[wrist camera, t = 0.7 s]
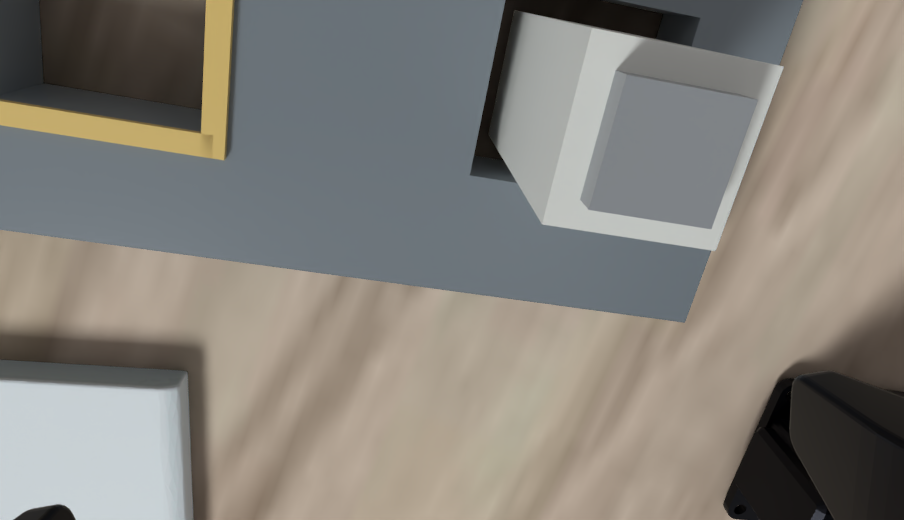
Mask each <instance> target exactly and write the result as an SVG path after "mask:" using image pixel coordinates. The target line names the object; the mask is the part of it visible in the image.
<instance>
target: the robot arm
mask: <svg viewBox="0 0 904 520" xmlns="http://www.w3.org/2000/svg"><path fill="white" fill-rule="evenodd" d="M790 391H791V393H790V394H788V392H790ZM787 394H788V395H787ZM723 505H724V508H725V510H726V511H727V513H728V515H729V516H730V517H731V518H734V519H741V520H904V392H897V391H889V390H883V389H880V388H878V387H875V386H872V385H869V384H867V383H864V382H861V381H859V380H856V379H853V378H850V377H848V376H845V375H842V374H840V373H837V372H834V371H820V372H815V373H809V374H803V375H799V376H798V377H796V378H795V379H793V378H789V379H785V380H782V381H781V382H779V383H778V384H777V385H776V387H775V388H774V391H773V393H772V395H771V397H770V400H769V402H768V404H767V406H766V409H765V411H764V413H763V415H762V417H761V420H760V422H759V424H758V426H757V429H756V431H755V433H754V435H753V438H752V440H751V442H750V444H749V447H748V449H747V451H746V453H745V455H744V458H743V460H742V462H741V464H740V467H739V469H738V471H737V473H736V476H735V478H734V480H733V482H732V485H731V487H730V489H729V491H728V493H727V496H726V498H725V500H724V504H723ZM738 505H739V506H738ZM736 506H737V507H736ZM13 520H76V519H75V517H74V515H73V513H72V512H71V510H70V509H69V508H68V507H66V506H65V505H61V504H56V505H50V506H44V507H38V508H33V509H30V510H27V511H25V512H23V513H22V514H20V515H19V516H18V517H16V518H15V519H13Z"/></svg>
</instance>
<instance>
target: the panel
mask: <svg viewBox="0 0 904 520" xmlns="http://www.w3.org/2000/svg"><path fill="white" fill-rule="evenodd" d="M600 1H605V2H610V3H615V4H620V5H624V6H629V7H634V8H639V9H643V10H648V11H653V12H658V13H663V16H662V20H661V23H660V27H659V30H658V34H657V37H656V39H658V40H663V41H667V42H672V43H677V44H681V45H686V46H691V47H695V48H700V49H705V50H709V51H714V52H719V53H723V54H728V55H733V56H737V57H742V58H747V59H751V60H756V61H761V62H765V63H770V64H775V65H780V62H781V59H782V57H783V54H784V51H785V48H786V46H787V43H788V40H789V37H790V35H791V32H792V29H793V27H794V24H795V21H796V18H797V16H798V13H799V10H800V8H801V5H802V2H803V0H600ZM504 5H505V0H206V14H205V40H204V67H203V93H202V110H200V109H194V108H188V107H182V106H176V105H171V104H165V103H159V102H153V101H147V100H141V99H135V98H129V97H123V96H117V95H111V94H105V93H99V92H93V91H87V90H81V89H75V88H69V87H63V86H57V85H51V84H45V83H44V82H43V64H42V45H41V27H40V8H39V0H0V230H7V231H14V232H22V233H29V234H37V235H44V236H51V237H59V238H66V239H73V240H81V241H88V242H95V243H103V244H110V245H118V246H125V247H132V248H140V249H147V250H154V251H162V252H169V253H176V254H184V255H191V256H199V257H206V258H213V259H221V260H228V261H235V262H243V263H250V264H257V265H265V266H272V267H280V268H287V269H294V270H302V271H309V272H316V273H324V274H331V275H338V276H346V277H353V278H361V279H368V280H375V281H383V282H390V283H397V284H405V285H412V286H420V287H427V288H434V289H442V290H449V291H456V292H464V293H471V294H478V295H486V296H493V297H501V298H508V299H515V300H523V301H530V302H537V303H545V304H552V305H559V306H567V307H574V308H582V309H589V310H596V311H604V312H611V313H618V314H626V315H633V316H640V317H648V318H655V319H663V320H670V321H677V322H685V321H686V318H687V315H688V312H689V310H690V307H691V304H692V302H693V299H694V296H695V293H696V291H697V288H698V285H699V282H700V280H701V277H702V274H703V272H704V269H705V266H706V263H707V261H708V258H709V255H710V253H711V250H705V249H698V248H692V247H685V246H679V245H672V244H666V243H659V242H653V241H647V240H640V239H634V238H627V237H621V236H614V235H608V234H601V233H595V232H588V231H582V230H575V229H569V228H562V227H556V226H549V225H543V224H541V222H540V220H539V219H538V217H537V215H536V214H535V212H534V210H533V209H532V207H531V205H530V203H529V202H528V200H527V198H526V197H525V195H524V193H523V192H522V190H521V188H520V187H519V185H518V183H517V182H516V180H515V178H514V177H513V175H512V173H511V172H510V170H509V168H508V167H507V165H506V163H505V162H504V160H499V159H493V158H487V157H481V156H475V155H474V152H475V148H476V143H477V138H478V133H479V128H480V123H481V118H482V113H483V108H484V103H485V98H486V93H487V88H488V84H489V79H490V74H491V69H492V64H493V59H494V54H495V49H496V44H497V39H498V34H499V29H500V24H501V20H502V15H503V10H504Z"/></svg>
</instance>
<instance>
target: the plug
mask: <svg viewBox="0 0 904 520" xmlns="http://www.w3.org/2000/svg"><path fill="white" fill-rule="evenodd" d="M783 68H784V66H779V65H775V64H770V63H765V62H761V61H756V60H751V59H747V58H742V57H737V56H733V55H728V54H723V53H719V52H714V51H709V50H705V49H700V48H695V47H691V46H686V45H681V44H677V43H672V42H667V41H663V40H658V39H653V38H649V37H644V36H640V35H635V34H630V33H625V32H620V31H615V30H610V29H605V28H600V27H595V26H590V25H586V24H581V23H576V22H571V21H566V20H561V19H556V18H551V17H546V16H541V15H536V14H531V13H526V12H521V11H516V10H514V13H513V18H512V23H511V28H510V32H509V37H508V42H507V47H506V52H505V56H504V61H503V66H502V71H501V75H500V80H499V85H498V90H497V95H496V99H495V104H494V109H493V114H492V118H491V123H490V128H489V133H488V135H489V137H490V138H491V140H492V142H493V143H494V145H495V147H496V148H497V150H498V152H499V153H500V155H501V157H502V158H503V160H504V162H505V163H506V165H507V167H508V168H509V170H510V172H511V173H512V175H513V177H514V178H515V180H516V182H517V183H518V185H519V187H520V188H521V190H522V192H523V193H524V195H525V197H526V198H527V200H528V202H529V203H530V205H531V207H532V209H533V210H534V212H535V214H536V215H537V217H538V219H539V220H540V222H541V224H543V225H549V226H556V227H562V228H569V229H575V230H582V231H588V232H595V233H601V234H608V235H614V236H621V237H627V238H634V239H640V240H647V241H653V242H659V243H666V244H672V245H679V246H685V247H692V248H698V249H705V250H711V251H716V248H717V246H718V243H719V240H720V238H721V235H722V232H723V229H724V227H725V224H726V221H727V219H728V216H729V213H730V211H731V208H732V205H733V202H734V200H735V197H736V194H737V192H738V189H739V186H740V184H741V181H742V178H743V175H744V173H745V170H746V167H747V165H748V162H749V159H750V157H751V154H752V151H753V149H754V146H755V143H756V140H757V138H758V135H759V132H760V130H761V127H762V124H763V122H764V119H765V116H766V113H767V111H768V108H769V105H770V103H771V100H772V97H773V95H774V92H775V89H776V86H777V84H778V81H779V78H780V76H781V73H782V70H783Z"/></svg>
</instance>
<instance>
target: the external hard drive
mask: <svg viewBox="0 0 904 520" xmlns="http://www.w3.org/2000/svg"><path fill="white" fill-rule="evenodd" d="M56 504H61V505H65V506H66V507H68V508H69V509H70V510H71V512H72V513H73V515H74V517H75V519H76V520H194V517H193V495H192V469H191V439H190V416H189V391H188V372H187V371H180V370H165V369H147V368H130V367H113V366H97V365H80V364H63V363H46V362H30V361H13V360H0V520H13V519H15V518H16V517H18V516H19V515H20V514H22V513H23V512H25V511H27V510H30V509H33V508H38V507H44V506H50V505H56Z"/></svg>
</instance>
